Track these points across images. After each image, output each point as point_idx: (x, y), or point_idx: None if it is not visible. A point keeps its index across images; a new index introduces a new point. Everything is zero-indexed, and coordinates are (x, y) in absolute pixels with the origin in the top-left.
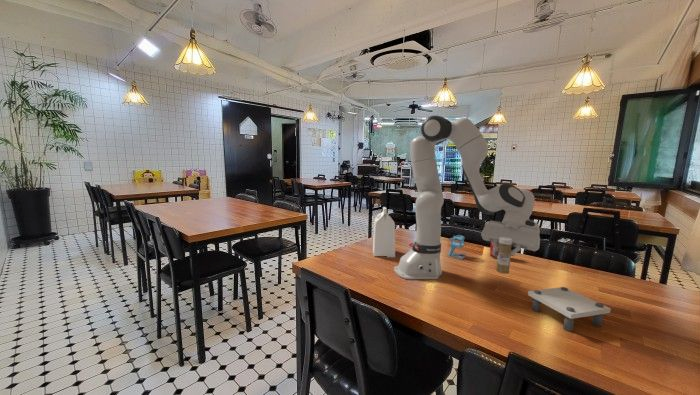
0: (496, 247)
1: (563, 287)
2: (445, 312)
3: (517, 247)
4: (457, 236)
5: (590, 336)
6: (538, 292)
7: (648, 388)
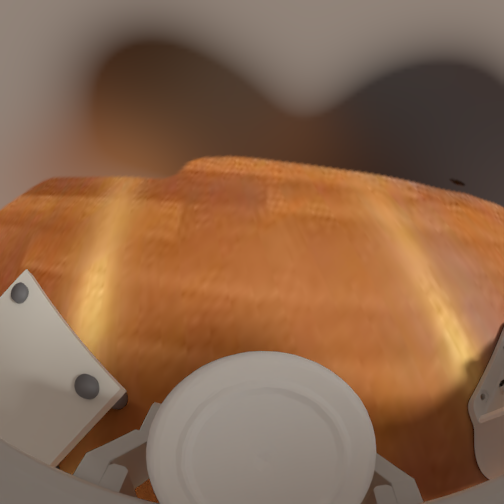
0: None
1: None
2: (341, 218)
3: (109, 452)
4: None
5: None
6: (83, 375)
7: (10, 203)
